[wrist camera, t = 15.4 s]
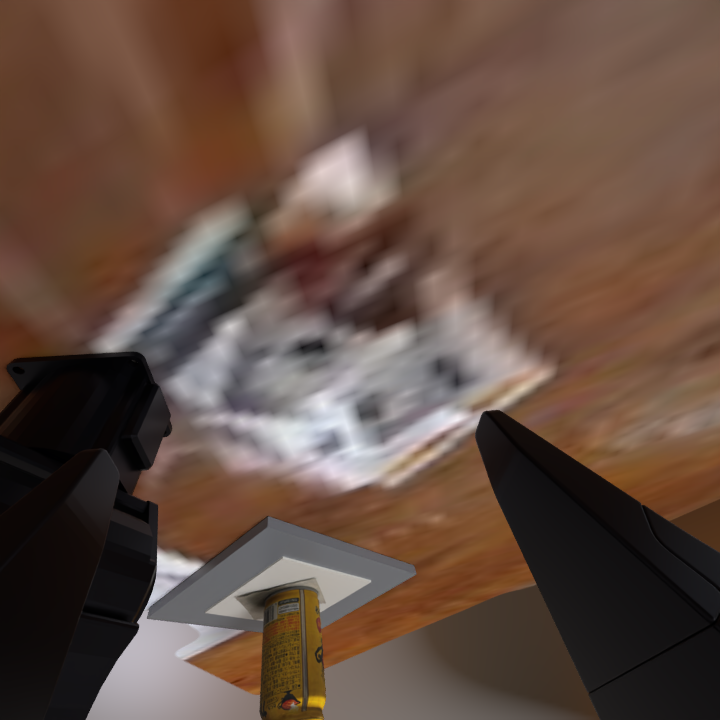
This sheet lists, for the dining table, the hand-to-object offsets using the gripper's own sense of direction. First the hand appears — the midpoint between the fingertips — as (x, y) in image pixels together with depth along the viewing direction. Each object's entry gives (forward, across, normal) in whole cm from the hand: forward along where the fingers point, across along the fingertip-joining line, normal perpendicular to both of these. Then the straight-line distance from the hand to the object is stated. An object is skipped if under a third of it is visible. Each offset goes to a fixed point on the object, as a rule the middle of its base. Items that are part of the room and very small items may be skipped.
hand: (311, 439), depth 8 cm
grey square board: (+12, +3, +38) cm, 40 cm away
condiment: (+11, +4, +38) cm, 40 cm away
